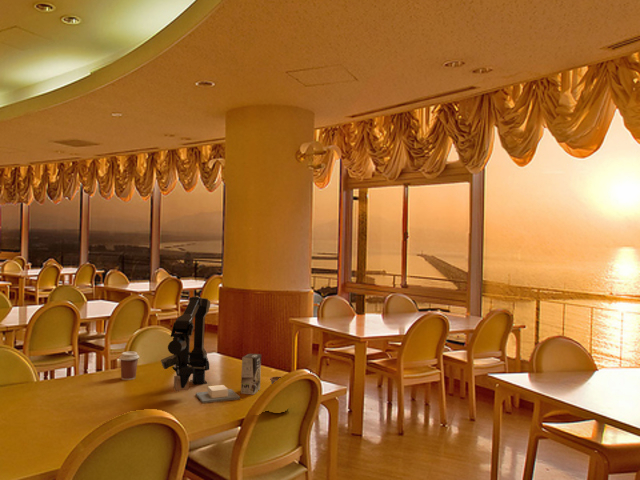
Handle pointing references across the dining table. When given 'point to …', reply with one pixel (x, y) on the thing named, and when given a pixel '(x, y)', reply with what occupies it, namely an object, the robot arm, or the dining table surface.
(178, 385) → the walnut block
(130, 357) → the coffee cup
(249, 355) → the coffee box
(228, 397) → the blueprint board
